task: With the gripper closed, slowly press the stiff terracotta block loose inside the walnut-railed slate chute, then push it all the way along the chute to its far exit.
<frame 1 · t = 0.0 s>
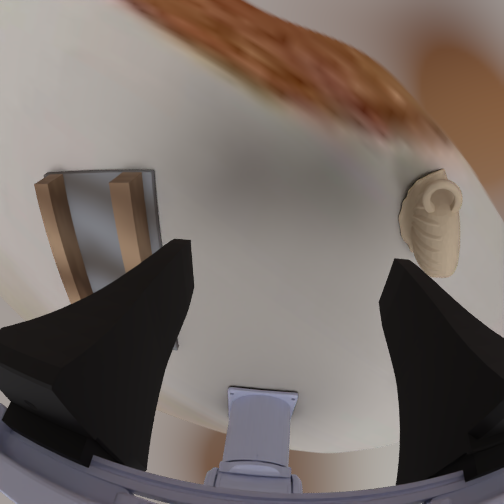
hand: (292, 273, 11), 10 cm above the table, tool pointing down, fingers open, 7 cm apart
decorative ornament: (424, 207, 19), on the table
walnut chute: (113, 269, 25), on the table
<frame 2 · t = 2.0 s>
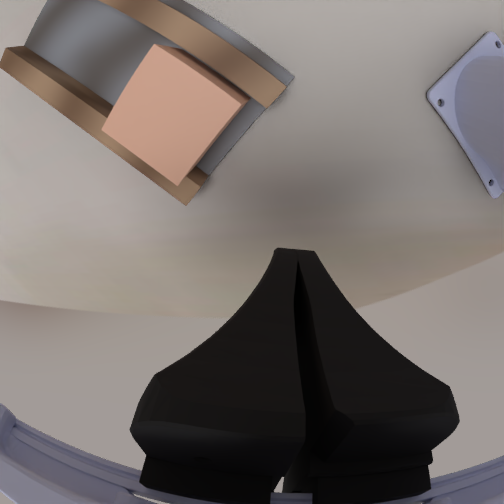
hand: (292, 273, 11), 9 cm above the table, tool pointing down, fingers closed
jammed block: (178, 109, 14), point 3 cm above the table, slide at 0.0 cm
walnut chute: (125, 59, 15), on the table
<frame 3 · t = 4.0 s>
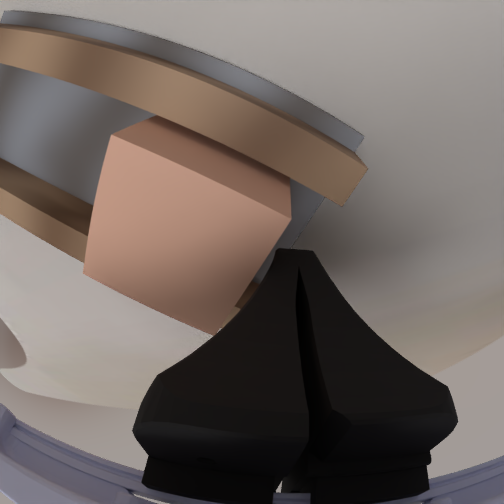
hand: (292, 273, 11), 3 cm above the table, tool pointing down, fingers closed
jammed block: (186, 218, 10), point 3 cm above the table, slide at 0.7 cm, touching gripper
walnut chute: (106, 144, 11), on the table
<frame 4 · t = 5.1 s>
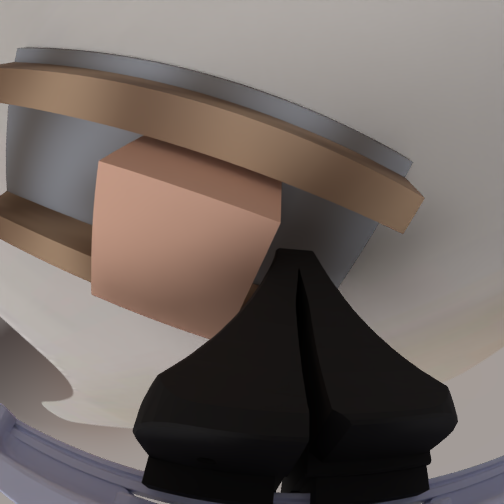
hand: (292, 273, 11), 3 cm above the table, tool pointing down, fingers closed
jammed block: (184, 231, 10), point 3 cm above the table, slide at 3.4 cm, touching gripper
walnut chute: (157, 185, 12), on the table
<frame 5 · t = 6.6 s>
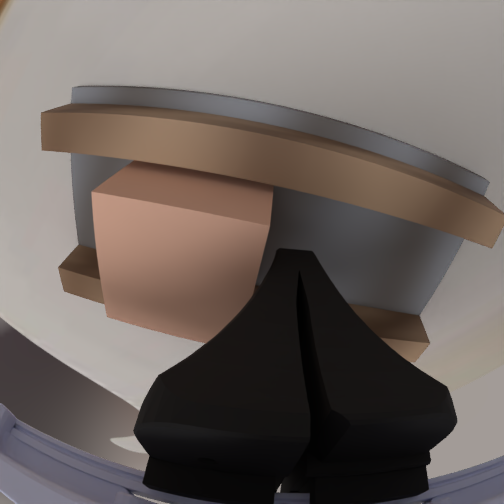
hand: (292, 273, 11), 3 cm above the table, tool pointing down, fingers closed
jammed block: (187, 246, 11), point 3 cm above the table, slide at 8.2 cm, touching gripper
walnut chute: (265, 226, 13), on the table
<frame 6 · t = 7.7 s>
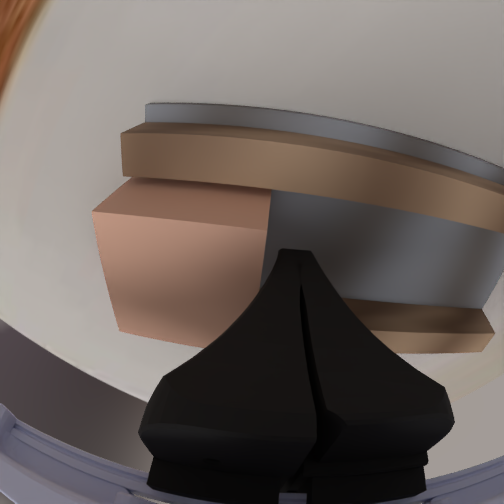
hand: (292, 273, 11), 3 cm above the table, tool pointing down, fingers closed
jammed block: (191, 256, 11), point 3 cm above the table, slide at 12.0 cm, touching gripper
walnut chute: (357, 241, 13), on the table
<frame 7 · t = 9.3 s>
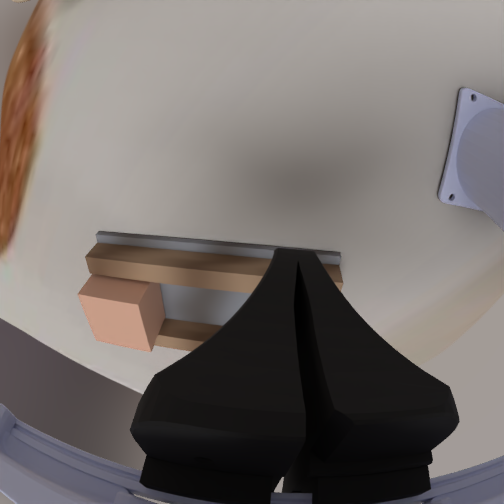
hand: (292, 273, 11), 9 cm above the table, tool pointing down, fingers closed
jammed block: (124, 306, 22), point 3 cm above the table, slide at 12.0 cm
walnut chute: (212, 295, 24), on the table
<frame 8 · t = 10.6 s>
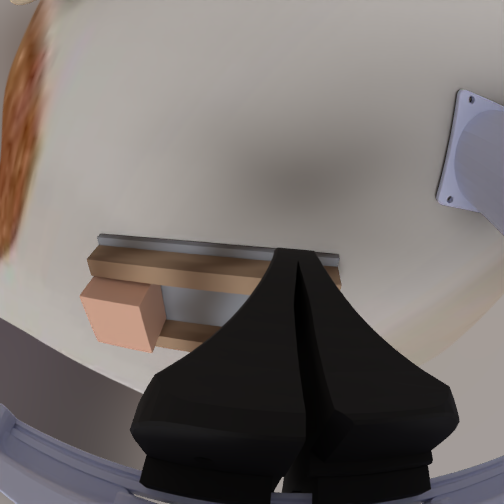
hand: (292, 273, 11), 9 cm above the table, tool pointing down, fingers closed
jammed block: (125, 308, 22), point 3 cm above the table, slide at 12.0 cm
walnut chute: (212, 297, 24), on the table
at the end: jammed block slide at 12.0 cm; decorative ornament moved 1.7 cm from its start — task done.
